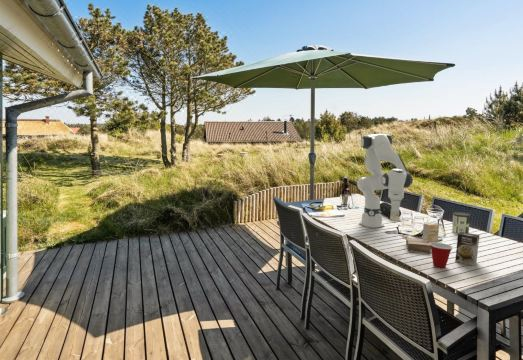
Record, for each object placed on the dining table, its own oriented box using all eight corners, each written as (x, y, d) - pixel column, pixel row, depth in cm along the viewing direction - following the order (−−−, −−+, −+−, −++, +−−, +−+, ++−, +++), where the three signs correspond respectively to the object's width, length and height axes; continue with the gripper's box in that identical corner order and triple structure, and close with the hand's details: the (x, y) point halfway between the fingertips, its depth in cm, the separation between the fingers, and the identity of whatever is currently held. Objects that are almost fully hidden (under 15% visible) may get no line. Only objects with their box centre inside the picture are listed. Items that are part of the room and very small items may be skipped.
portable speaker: (377, 212, 278) (378, 201, 277) (387, 212, 278) (388, 201, 277) (390, 219, 253) (391, 208, 251) (401, 219, 253) (402, 207, 252)
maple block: (390, 217, 194) (390, 208, 193) (398, 218, 192) (399, 209, 191) (390, 220, 189) (390, 210, 188) (398, 220, 187) (399, 211, 186)
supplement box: (427, 244, 193) (429, 225, 191) (421, 242, 198) (423, 223, 196) (438, 243, 195) (439, 224, 193) (432, 241, 200) (433, 222, 198)
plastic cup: (453, 265, 162) (454, 244, 160) (449, 272, 154) (450, 249, 152) (430, 260, 169) (432, 239, 167) (425, 266, 161) (427, 244, 159)
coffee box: (454, 261, 167) (457, 233, 165) (457, 258, 171) (460, 231, 169) (474, 266, 160) (477, 237, 158) (477, 262, 165) (479, 234, 163)
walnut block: (405, 244, 194) (406, 237, 194) (426, 246, 190) (427, 239, 190) (408, 251, 183) (408, 243, 183) (430, 253, 179) (430, 245, 179)
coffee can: (462, 230, 222) (463, 211, 220) (472, 234, 211) (473, 215, 209) (448, 230, 221) (449, 212, 219) (457, 235, 211) (459, 215, 209)
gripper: (390, 191, 199) (389, 211, 201) (390, 197, 180) (388, 219, 182) (401, 192, 196) (399, 212, 198) (401, 198, 177) (400, 220, 180)
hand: (394, 216), depth 190 cm, fingers closed on maple block, 5 cm apart
